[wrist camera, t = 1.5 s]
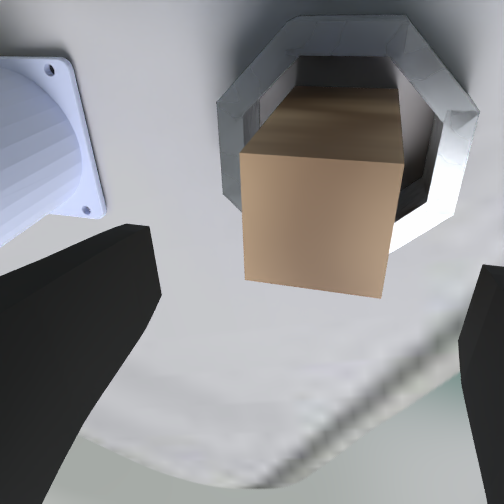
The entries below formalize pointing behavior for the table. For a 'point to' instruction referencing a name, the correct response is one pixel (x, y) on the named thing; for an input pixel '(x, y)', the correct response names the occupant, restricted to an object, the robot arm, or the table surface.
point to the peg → (323, 190)
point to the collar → (362, 44)
